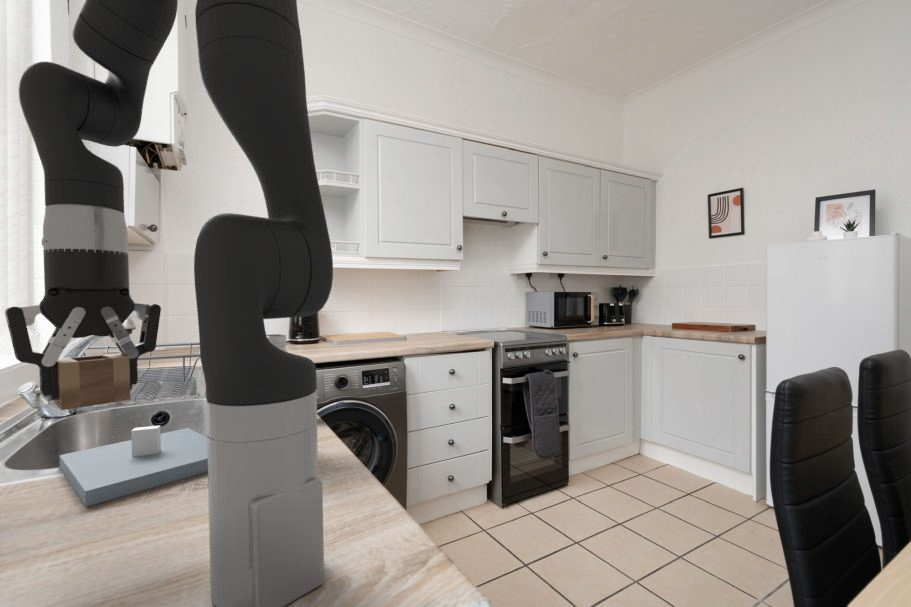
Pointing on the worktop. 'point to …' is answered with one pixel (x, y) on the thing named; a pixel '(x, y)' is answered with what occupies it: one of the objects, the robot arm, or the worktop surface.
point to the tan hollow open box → (92, 380)
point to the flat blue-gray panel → (135, 463)
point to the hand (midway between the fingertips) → (92, 393)
